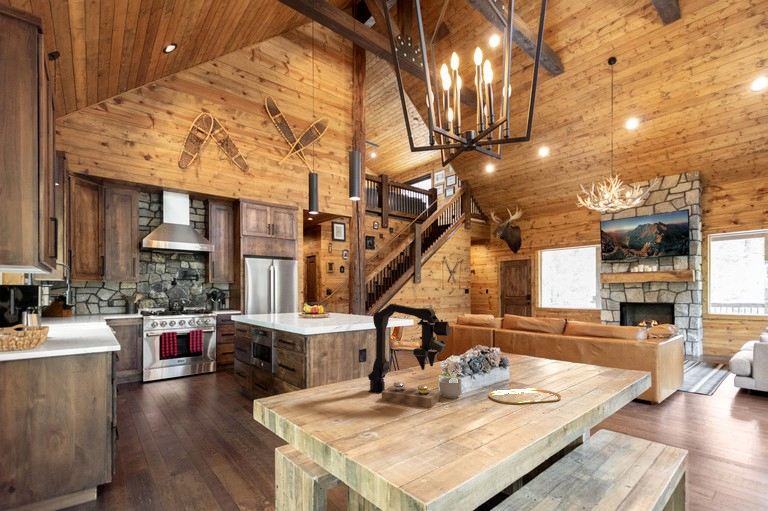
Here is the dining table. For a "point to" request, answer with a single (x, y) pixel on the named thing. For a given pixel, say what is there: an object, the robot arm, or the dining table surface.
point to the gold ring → (524, 391)
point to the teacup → (450, 387)
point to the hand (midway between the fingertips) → (427, 368)
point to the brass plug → (422, 389)
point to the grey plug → (399, 386)
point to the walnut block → (411, 397)
